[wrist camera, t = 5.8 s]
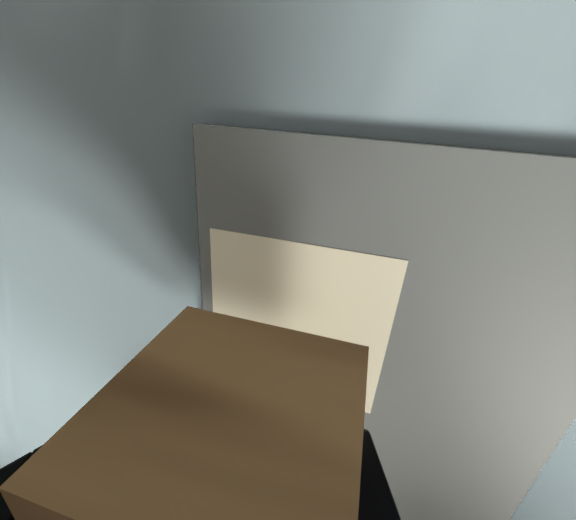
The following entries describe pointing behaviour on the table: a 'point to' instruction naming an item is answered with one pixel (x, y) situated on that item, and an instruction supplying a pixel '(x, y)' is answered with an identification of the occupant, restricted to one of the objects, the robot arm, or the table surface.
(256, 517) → the block
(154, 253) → the table surface
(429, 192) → the board
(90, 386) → the table surface
